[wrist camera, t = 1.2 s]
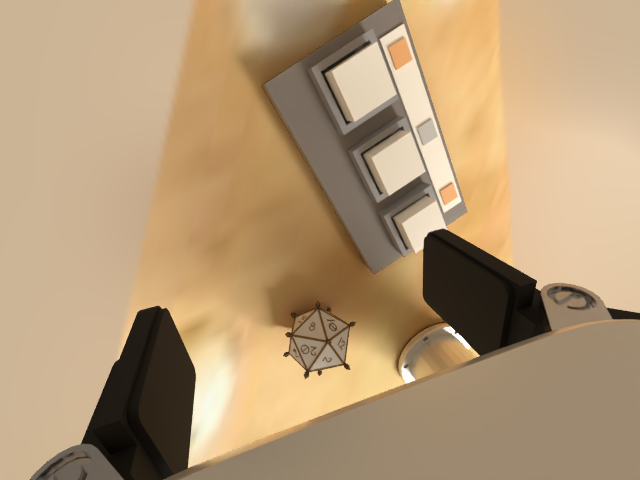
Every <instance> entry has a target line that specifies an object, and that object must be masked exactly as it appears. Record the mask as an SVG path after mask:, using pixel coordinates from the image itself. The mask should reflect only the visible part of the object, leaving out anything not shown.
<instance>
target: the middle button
mask: <svg viewBox="0 0 640 480" xmlns="http://www.w3.org/2000/svg"><path fill="white" fill-rule="evenodd" d="M363 156H364V158H365V160H366V162H367V165H368V167H369V169H370V171H371V173H372V175H373V177H374V179H375V181H376V184H377V186H378V188H379V190H380V191H381V192H383V193H385V194H387V195H388V196H390V195H391V194H393V193H394V192H396V191H397V190H399V189H400V188H402V187H403V186H405V185H406V184H408V183H409V182H411V181H412V180H414V179H415V178H417V177H418V176H420V175H421V174H423V173H424V172H426V171H425V169H424V166H423V163H422V161H421V158H420V155H419V153H418V150H417V147H416V145H415V142H414V139H413V137H412V134H411V132H410V131H403V130H399V131H398V132H396V133H395V134H393V135H392V136H390V137H389V138H387V139H386V140H384V141H383V142H381V143H379V144H378V145H376V146H375V147H373V148H372V149H370V150H369V151H367V152H366V153H364V154H363Z"/></svg>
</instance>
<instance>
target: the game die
mask: <svg viewBox="0 0 640 480" xmlns="http://www.w3.org/2000/svg"><path fill="white" fill-rule="evenodd" d="M316 307H317V308H315V309H313V310H311V311H308V312H306V313H303V314H301V315H299V316H296V314H295V313H291V316H292V317H293V318H295V319H294V323H293V328H292V332H291V333H290V332H287V333H286V334H285V335H286V336H287V337H290V345H289V352H286V353H284V355H283V356H285V357H287V356H288V355H291V356H292V357H293V358H294V359H295V360H296V361H297V362H298V363H299V364H300V365H301V366H302V367H303V368H304V369H305V370H306V372H305V374H304V377H305V379H306V378H307V377H308V376H309V372H312V371H318V375H319V376H320V375H321V374H322V371H321V370H323V369H328V368H332V367H337V366H342V365H344V368H346V369H348V370H350V367H349V365H348V364H346V363H345V360H346V353H347V345H348V337H349V329H350V327H351V326H352V327H353V326H354V325H355V323H356V322H350V324H347V323H346V322H344V321H343V320H341V319H339V318H338V317H336V316H335V315H333V314H331V313H330V312H331V308H330V307H329V308H328V309H327V311H325V310H323V309H321V308H319V307H320V303H319V302H318V301H317V303H316Z"/></svg>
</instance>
